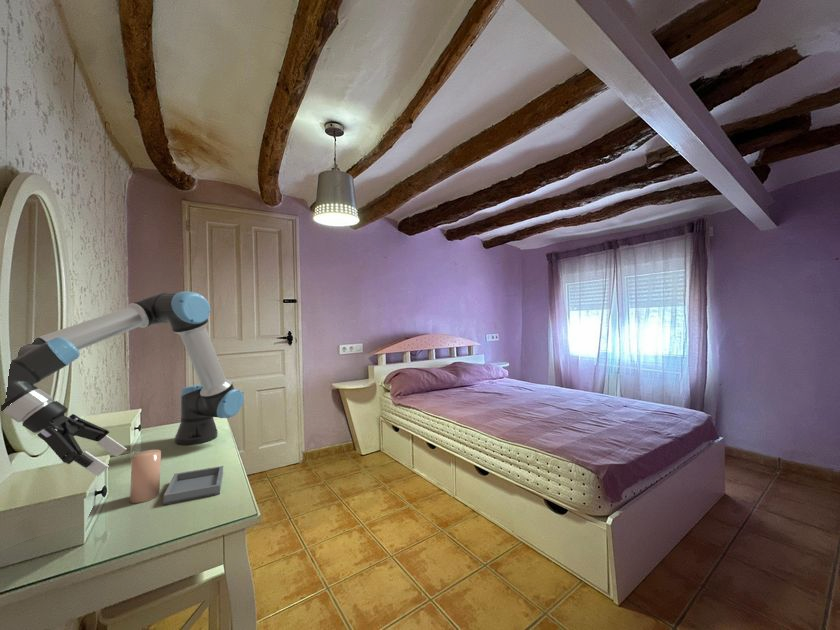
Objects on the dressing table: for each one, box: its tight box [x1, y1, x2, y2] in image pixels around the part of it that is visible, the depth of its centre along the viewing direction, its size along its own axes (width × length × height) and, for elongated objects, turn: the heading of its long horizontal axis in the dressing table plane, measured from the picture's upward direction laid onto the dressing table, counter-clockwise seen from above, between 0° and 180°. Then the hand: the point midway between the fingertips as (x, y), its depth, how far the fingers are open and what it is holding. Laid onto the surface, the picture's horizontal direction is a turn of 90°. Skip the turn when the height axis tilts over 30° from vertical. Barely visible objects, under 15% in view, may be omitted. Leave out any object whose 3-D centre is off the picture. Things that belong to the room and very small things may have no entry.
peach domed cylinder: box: [129, 449, 162, 504], centre depth 94 cm, size 6×6×12 cm
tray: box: [162, 465, 224, 506], centre depth 99 cm, size 15×13×2 cm
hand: (113, 461), depth 90 cm, fingers open, 13 cm apart
